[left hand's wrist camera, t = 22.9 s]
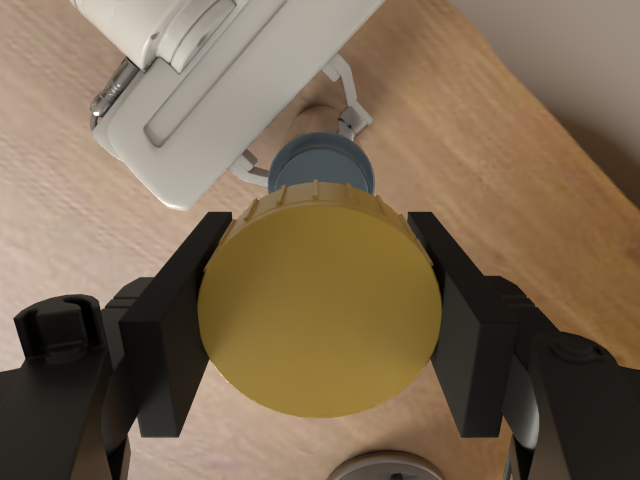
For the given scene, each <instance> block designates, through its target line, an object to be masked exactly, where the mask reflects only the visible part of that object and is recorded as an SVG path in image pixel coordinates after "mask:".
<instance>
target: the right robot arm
mask: <svg viewBox="0 0 640 480" xmlns="http://www.w3.org/2000/svg"><path fill="white" fill-rule="evenodd" d="M385 1H386V0H70V2H71V3H72V4H73V5H74V7H75V8H76V9H77V10H78V11H79V12H81V14H83V15H84V16H85V17H86V18H87V19H88V20H89V21H90V22H91V23H92V24H93V25H94V26H95V27H96V28H97V29H98V30H99V31H101V32H102V33H103V34H104V35H105V36H106V37H107V38H108V39H109V40H110V41H111V42H112V43H113V44H115V45H116V46H117V47H118V48H119V49H120V50H121V51H122V52H123V53H124V54H125V55H126V58H125V59H124V60H123V62H122V63H121V65H120V66H119V67H118V69H117V70H116V71H115V72H114V74H113V76H112V77H111V79H110V81H109V82H108V84H107V86H106V87H105V89H104V90H103V91H102V92H100V93H99V94H98V95H97V96H96V97H95V98H94V100H93V102H92V104H91V106H90V110H91V112H92V115H91V120H90V125H91V130H92V135H93V137H94V139H95V140H96V141H97V142H98V143H99V144H100V145H101V146H102V147H103V148H104V149H106V150H107V151H108V152H109V153H110V154H111V155H113V156H114V157H115V158H117V159H119V160H121V161H123V162H124V163H125V164H126V166H127V167H128V168H129V169H130V170H131V171H132V172H133V174H134V175H135V176H136V177H137V178H138V179H139V180H140V181H141V182H142V183H143V184H144V186H145V187H146V188H147V189H148V190H149V191H150V192H151V193H152V194H153V195H154V196H155V197H157V198H158V199H159V200H160V201H161V202H162V203H163V204H164V205H165V206H167V207H168V208H170V209H175V210H183V211H187V210H189V209H190V208H191V207H192V206H193V205H194V204H195V203H196V202H197V201H198V200H199V199H200V198H201V197H202V196H203V195H204V194H205V193H206V192H207V191H208V190H209V188H210V187H211V186H212V185H213V184H214V183H215V182H216V181H217V180H218V179H219V178H220V176H221V175H222V174H223V173H224V172H225V171H226V170H227V169H229V170H230V171H231V172H232V173H233V174H234V175H236V176H237V177H238V178H239V179H240V180H241V181H245V182H249V183H253V184H257V185H261V186H265V187H268V174H269V171H268V170H264V169H261V168H258V167H254V165H255V164H256V163H257V158H256V157H255V156H254V155H253V154H252V153H251V152H250V151H249V150H248V149H247V148H248V147H249V146H250V144H251V143H252V142H253V141H254V140H255V139H256V138H257V137H258V136H259V135H260V134H261V133H262V132H263V131H264V130H265V129H266V127H267V126H268V125H269V124H270V123H271V122H272V121H273V120H274V119H275V118H276V117H277V116H278V115H279V114H280V113H281V111H282V110H283V109H284V108H285V107H286V106H287V105H288V104H289V103H290V102H291V101H292V100H293V99H294V98H295V97H296V96H297V94H298V93H299V92H300V91H301V90H302V89H303V88H304V87H305V86H306V85H307V84H308V83H309V82H310V81H311V80H312V78H313V77H314V76H315V75H316V74H317V73H318V72H319V71H320V70H322V71H323V72H324V73H325V74H326V75H327V76H328V77H329V78H330V79H331V80H332V81H333V82H336V81H337V80H338V79H339V77H340V79H341V83H342V87H343V91H344V96H345V100H346V104H347V106H346V107H345V108H344V109H343V110H342V111H341V113H340V114H339V116H340V118H341V119H342V120H343V121H344V122H345V123H346V124H348V125H350V127H351V129H352V130H353V132H354V133H355V134H356V135H357V136H358V135H359V134H360V133H361V132H362V131H363V130H364V129H365V128H366V127H367V126H368V125H369V124H370V123H372V122H373V121H374V120H373V119H372V117H371V116H370V115H369V114H368V113H367V112H366V111H365V110H364V109H363V107H362V106H361V105H360V104H359V103H358V102H357V101H356V100H357V95H356V90H355V86H354V81H353V76H352V72H351V67H350V66H349V65H348V64H347V62H346V61H345V60H344V59H343V58H342V57H341V56H340V54H339V53H338V51H339V50H340V49H341V48H342V47H343V46H344V44H345V43H346V42H347V41H348V40H349V39H350V38H351V37H352V36H353V35H354V34H355V33H356V32H357V31H358V30H359V29H360V28H361V27H362V26H363V25H364V24H365V23H366V21H367V20H368V19H369V18H370V17H371V16H372V15H373V14H374V13H375V12H376V11H377V10H378V9H379V8H380V7H381V5H382V4H383V3H384V2H385ZM98 117H101V118H102V119H101V120H100V122H99V123H98V124H97V120H98ZM365 122H366V123H365Z"/></svg>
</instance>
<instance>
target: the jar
mask: <svg viewBox="0 0 640 480" xmlns="http://www.w3.org/2000/svg"><path fill="white" fill-rule="evenodd" d="M340 113H341V112H339V111H338V110H336V109H334V108H332V107H329V106H313V107H310V108H308V109H306V110H304V111H303V112H301V113H300V114H299V115H298V116H297V117H296V119H295V120H294V122H293V124H292V126H291V128H290V130H289V131H288V133H287V135H286V137H285V139H284V141H283V143H282V145H281V147H280V149H279V150H278V152H277V154H276V156H275V158H274V160H273V162H272V164H271V167H270V170H269V174H268V193H269V194H270V193H273V192H275V191H277V190H279V189H281V186H282V185H286V187H289V186H292V185H297V184H303V183H311V182H314V180H316V179H318V182H328V183H338V184H342V185H346V184H347V183H351V186H352V187H354V188H357V189H360V190H362V191H365V192H367V193H369V194H371V195H374V189H375V179H374V173H373V169H372V166H371V163H370V161H369V159H368V157H367V155H366V154H365V152H364V150H363V148H362V146H361V144H360V142H359V140H358V139H357V137H356V135H355V133H354V132H353V130H352V129H351V127H350V125H348V124H346V123H345V122H344V121H343V120H342V119H341V118H340V116H339V114H340Z"/></svg>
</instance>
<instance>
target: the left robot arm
mask: <svg viewBox="0 0 640 480" xmlns="http://www.w3.org/2000/svg"><path fill="white" fill-rule="evenodd" d="M231 222H232V212H208V213H207V214H206V215H205V217H204V218H203V219H202V220H201V221H200V223H199V224H198V225H197V226H196V228H195V229H194V230H193V231H192V232H191V234H190V235H189V236H188V237H187V238H186V240H185V241H184V242H183V243H182V245H181V246H180V247H179V248H178V249H177V251H176V252H175V253H174V254H173V255H172V257H171V258H170V259H169V260H168V262H167V263H166V264H165V265H164V266H163V268H162V269H161V270H160V271H159V272H158V274H157V275H156V276H155V277H140V278H138V279H136V280H134V281H133V282H131V283H129V284H127V285H125V286H124V287H123V288H122V289H121V290H120V291H119V292H118V293H117V294H116V295H115V296H114V297H113V298H114V299H111V301H110V302H109V303H108V304H107V305H106V306H105V309H102V310H100V305H99V301H98V300H97V299H95V298H94V297H93V296H88V295H83V294H75V295H64V296H59V297H53V298H49V299H47V300H44V301H41V302H38V303H35V304H33V305H31V306H29V307H28V308H26V309H24V310H22V311H21V312H20V313H19V314H18V315H16V316H15V317H14V318H13V319H14V323H15V326H16V329H17V332H18V336H19V339H20V342H21V345H22V349H23V352H24V355H25V358H26V359H25V361H24V363H23V364H22V366H21V368H18V369H14V370H9V371H3V372H0V480H127V477H128V470H129V463H130V456H131V450H130V443H129V438H128V432H129V430H130V428H131V426H132V424H133V422H134V421H135V419H136V417H137V418H138V423H139V428H140V433H141V437H179V435H180V433H181V430H182V428H183V425H184V423H185V420H186V418H187V415H188V412H189V410H190V407H191V405H192V402H193V400H194V397H195V394H196V392H197V389H198V387H199V384H200V382H201V379H202V377H203V374H204V371H205V369H206V366H207V364H208V361H209V357H208V355H207V353H206V350H205V348H204V346H203V343H202V340H201V335H200V328H199V320H198V310H197V301H198V294H199V289H200V286H201V283H202V279H203V276H204V274H205V273H204V272H203V271H204V268H205V267H206V265H207V263H208V262H209V260H210V258H211V257H212V255H213V253H214V252H215V250H216V248H217V247H218V245H219V241H220V240H221V238H222V236H223V235H224V233H225V231H226V230H227V228H228V227H229V225H230V223H231ZM407 223H408V224H409V226H410V228H411V229H412V231H413V233H414V234H415V236H416V238H415V239H417V238H418V239H419V241H420V243H421V244H422V246H423V248H424V249H425V251H426V252H427V254H428V256H429V257H430V259H431V261H432V262H433V266H431V267H432V269H433V271H434V274H435V276H436V279H437V281H438V284H439V288H440V292H441V297H442V316H441V325H440V333H439V339H438V341H437V344H436V347H435V349H434V352H433V354H432V355H431V357H430V359H431V362H432V364H433V367H434V370H435V372H436V375H437V377H438V380H439V382H440V385H441V387H442V390H443V393H444V395H445V398H446V400H447V403H448V405H449V408H450V411H451V413H452V416H453V418H454V421H455V423H456V426H457V428H458V431H459V434H460V436H461V437H499V432H500V427H501V422H502V417H503V415H504V417H505V419H506V421H507V423H508V424H509V426H510V428H511V430H512V432H513V434H512V438H511V443H510V448H509V452H508V457H507V461H506V466H505V471H504V477H503V480H510V476H511V473H512V475H513V480H640V370H637V369H631V368H626V367H622V366H619V365H618V364H617V362H616V360H615V358H614V357H613V356H612V355H611V354H610V353H609V352H608V351H607V349H605V348H603V347H602V346H600V345H599V344H597V343H596V342H594V341H592V340H589V339H587V338H584V337H582V336H579V335H575V334H571V333H567V332H560V331H559V330H558V329H557V328H556V327H555V325H554V324H553V323H552V322H551V321H550V320H549V319H548V318H547V317H546V316H545V315H544V314H543V313H542V312H541V311H540V310H539V308H538V307H535V304H534V303H533V302H532V301H531V300H530V299H529V298H527V296H526V295H525V294H524V293H523V291H522V290H521V289H520V288H519V287H518V286H517V285H515V284H514V283H512V282H510V281H508V280H506V279H505V278H503V277H501V276H484V275H483V274H482V273H481V272H480V270H479V269H478V268H477V267H476V266H475V264H474V263H473V262H472V261H471V259H470V258H469V257H468V256H467V255H466V253H465V252H464V251H463V250H462V249H461V247H460V246H459V245H458V244H457V242H456V241H455V240H454V239H453V238H452V236H451V235H450V234H449V233H448V231H447V230H446V229H445V228H444V227H443V225H442V224H441V223H440V222H439V221H438V219H437V218H436V217H435V216H434V214H433V213H432V212H408V219H407ZM327 480H446V479H445V478H444V476H443V474H442V473H441V472H440V471H439V470H438V469H437V468H436V467H435V466H434V465H433V464H431V463H430V462H428V461H426V460H425V459H423V458H420V457H418V456H415V455H412V454H408V453H403V452H394V451H384V452H374V453H369V454H365V455H361V456H359V457H356V458H353V459H351V460H349V461H347V462H346V463H344V464H342V465H341V466H340V467H338V468H337V469H336V470H335V471H334V472H333V473H332V474H331V475H330V476H329V477H328V479H327Z"/></svg>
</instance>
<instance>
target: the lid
mask: <svg viewBox="0 0 640 480" xmlns="http://www.w3.org/2000/svg"><path fill="white" fill-rule="evenodd" d="M415 238H416V236H415V234H414V233H413V231H412V229H411V228H410V226H409V224H408V223H407V221H406V219H405V218H404V216H403V215H402V214H400V215H398V214H397V213H396V212H395V211H394V210H393V209H392V208H390V207H389V206H388V205H387V204H385V203H384V202H383V201H382V199H381V197H380V196H379V195H376V197H375V196H373V195H371V194H369V193H367V192H365V191H362V190H360V189H357V188H354V187H352V186H351V183H347V184H346V185H342V184H338V183H328V182H318V179H316V180H314V182H311V183H303V184H297V185H292V186H289V187H286V185H282V186H281V189H279V190H277V191H275V192H273V193H270V194H268V195H266V196H265V197H263V198H262V199H260V200H257V198H256V199H254V200H253V202H252V204H251V206H250V207H249V208H248V209H247V210H246V211H244V212H243V214H242V215H241V216H240V217H239V218H238V219H237V220H235V219H233V220H232V222H231V223H230V225H229V227H228V228H227V230H226V231H225V233H224V235H223V236H222V238H221V240H220V241H219V245H218V247H217V248H216V250H215V252H214V253H213V255H212V257H211V258H210V260H209V262H208V263H207V265H206V267H205V268H204V271H203V272H204V273H205V274H204V276H203V279H202V283H201V286H200V289H199V294H198V301H197V310H198V320H199V328H200V335H201V340H202V343H203V346H204V348H205V350H206V353H207V355H208V357H209V359H210V360H211V362H212V363H213V365H214V366H215V368H216V369H217V371H218V372H219V373H220V374H221V375H222V376H223V378H224V379H225V380H226V381H227V382H228V383H229V384H230V385H231V386H233V387H234V388H235V389H236V390H237V391H239V392H240V393H241V394H243V395H244V396H246V397H247V398H249V399H250V400H252V401H254V402H256V403H258V404H260V405H262V406H264V407H267V408H269V409H272V410H274V411H277V412H281V413H284V414H288V415H294V416H299V417H309V418H332V417H340V416H347V415H351V414H355V413H359V412H362V411H365V410H368V409H370V408H373V407H375V406H377V405H379V404H381V403H384V402H386V401H387V400H389V399H390V398H392V397H394V396H395V395H397V394H398V393H399V392H401V391H402V390H403V389H404V388H406V387H407V386H408V385H409V384H410V383H411V382H412V381H413V380H414V379H415V378H416V377H417V376H418V375H419V374H420V372H421V371H422V370H423V368H424V367H425V366H426V364H427V363H428V361H429V359H430V357H431V355H432V354H433V352H434V349H435V347H436V344H437V341H438V339H439V333H440V325H441V316H442V297H441V292H440V288H439V284H438V281H437V279H436V276H435V274H434V271H433V269H432V267H431V266H433V262H432V261H431V259H430V257H429V256H428V254H427V252H426V251H425V249H424V248H423V246H422V244H421V243H420V241H419V239H418V238H417V239H415Z"/></svg>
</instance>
